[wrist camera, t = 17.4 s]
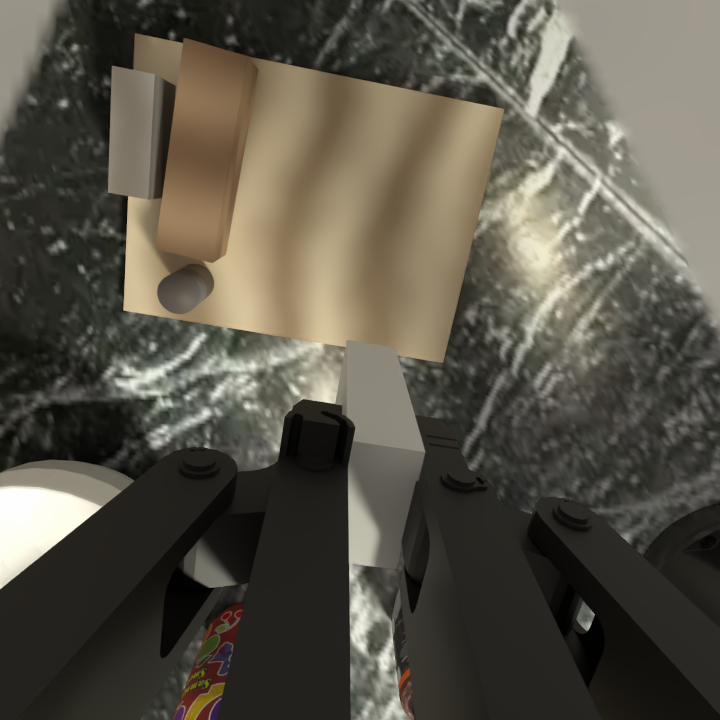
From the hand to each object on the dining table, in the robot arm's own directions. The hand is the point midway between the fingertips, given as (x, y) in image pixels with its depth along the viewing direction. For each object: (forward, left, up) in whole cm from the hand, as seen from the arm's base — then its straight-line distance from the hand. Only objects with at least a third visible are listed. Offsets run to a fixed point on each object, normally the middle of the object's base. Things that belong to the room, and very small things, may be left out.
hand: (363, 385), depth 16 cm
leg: (+10, -5, -23) cm, 26 cm away
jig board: (+4, -3, -24) cm, 25 cm away
